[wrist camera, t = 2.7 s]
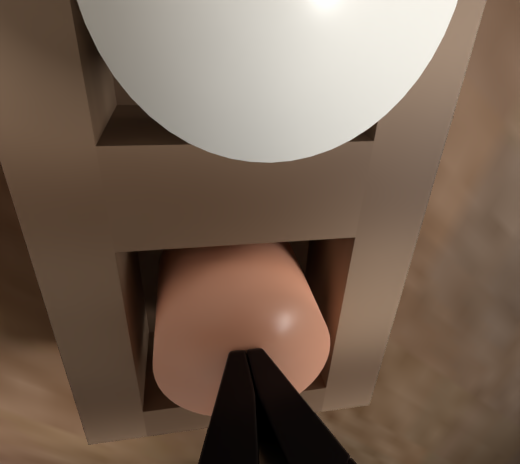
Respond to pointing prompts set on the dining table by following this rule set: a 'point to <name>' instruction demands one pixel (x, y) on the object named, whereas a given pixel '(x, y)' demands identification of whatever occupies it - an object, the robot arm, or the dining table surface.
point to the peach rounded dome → (233, 318)
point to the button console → (201, 213)
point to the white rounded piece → (267, 67)
